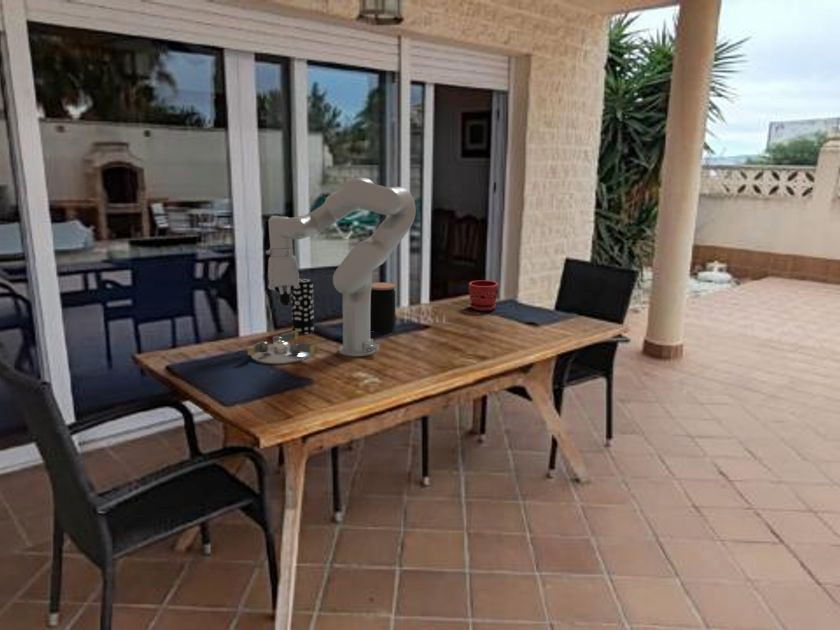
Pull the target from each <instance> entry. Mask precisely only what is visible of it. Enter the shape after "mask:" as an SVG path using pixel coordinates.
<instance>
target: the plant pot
mask: <svg viewBox="0 0 840 630" xmlns="http://www.w3.org/2000/svg"><path fill="white" fill-rule="evenodd" d="M498 291H499V283H498V282H497V281H493V280H488V279H487V280H485V279H484V280H473V281H470V282H469V283H468V295H469V300H470V302H471V303H469V304H470V307H471V308H472V309H474V310H477V311H483V312H484V311H486V312H487V311H492V310H494V309H495V308H496V306H497V304H496V303H495V302H496V301H497V298H498V294H499V292H498Z"/></svg>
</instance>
